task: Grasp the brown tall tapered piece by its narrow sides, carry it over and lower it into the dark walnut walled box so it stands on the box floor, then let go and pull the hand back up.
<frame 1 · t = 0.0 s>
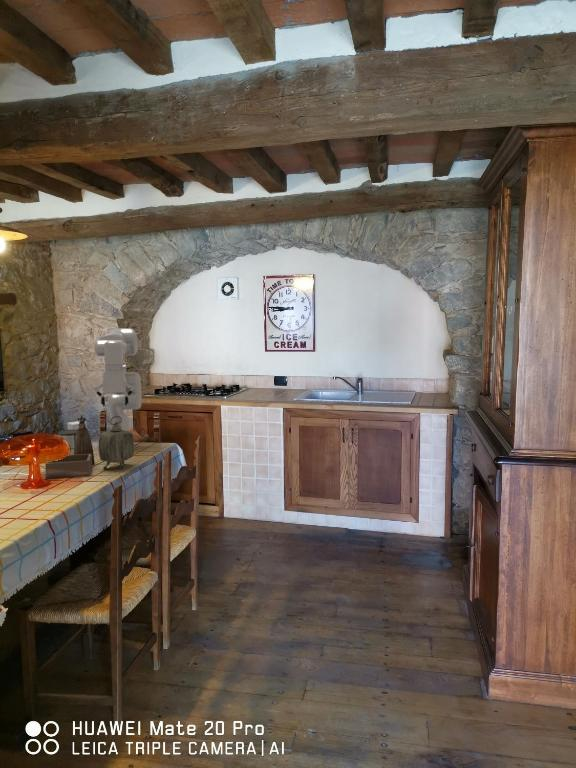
hand: (115, 405, 238), 31 cm above the table, tool pointing down, fingers open, 9 cm apart
skincare box: (78, 450, 284), on the table
tabletop clock: (118, 468, 249), on the table
walled box: (69, 473, 239), on the table
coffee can: (70, 458, 266), on the table
brown tall tapered piece: (84, 465, 253), on the table
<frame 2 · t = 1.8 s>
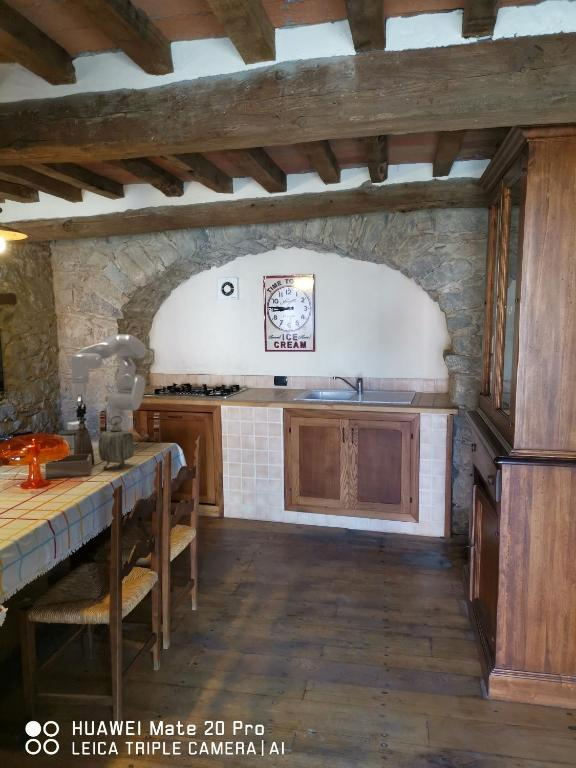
hand: (81, 415, 250), 24 cm above the table, tool pointing down, fingers open, 9 cm apart
nothing on the table moved.
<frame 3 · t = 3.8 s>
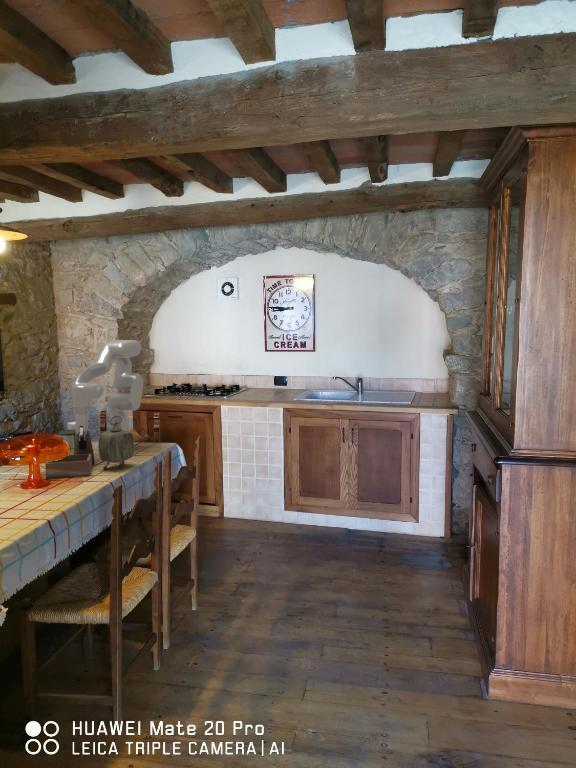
hand: (83, 447, 252), 9 cm above the table, tool pointing down, fingers closed on brown tall tapered piece, 5 cm apart
brown tall tapered piece: (84, 465, 253), on the table, touching gripper
everything else where it was.
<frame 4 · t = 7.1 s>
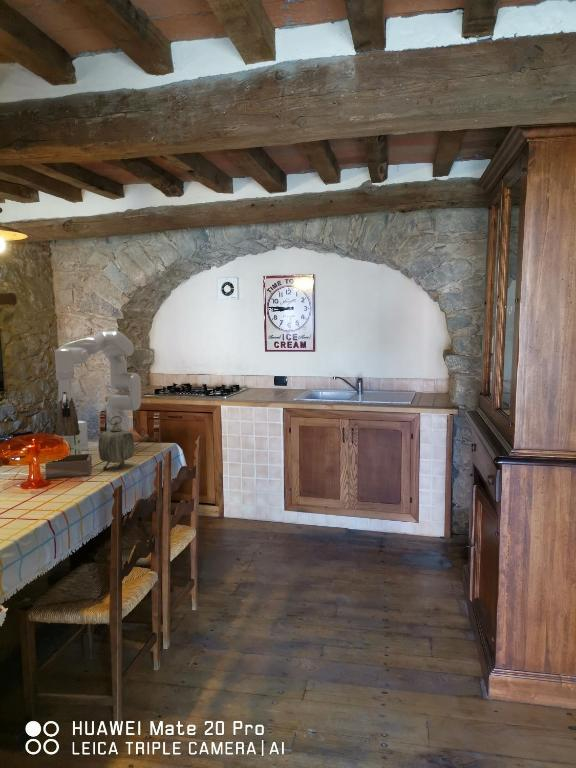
hand: (67, 415, 237), 27 cm above the table, tool pointing down, fingers closed on brown tall tapered piece, 5 cm apart
brown tall tapered piece: (68, 435, 238), point 18 cm above the table, touching gripper
everything else where it was.
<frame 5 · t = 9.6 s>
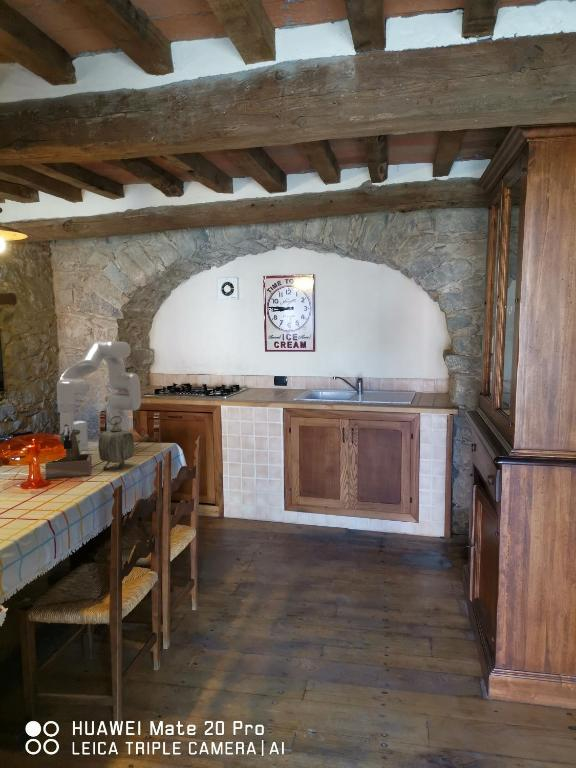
hand: (68, 446, 238), 12 cm above the table, tool pointing down, fingers closed on brown tall tapered piece, 5 cm apart
brown tall tapered piece: (69, 466, 239), point 3 cm above the table, touching gripper
everything else where it was.
when the fingers open (12 cm above the table, at t = 10.6 s): brown tall tapered piece drops 2 cm, resting on walled box.
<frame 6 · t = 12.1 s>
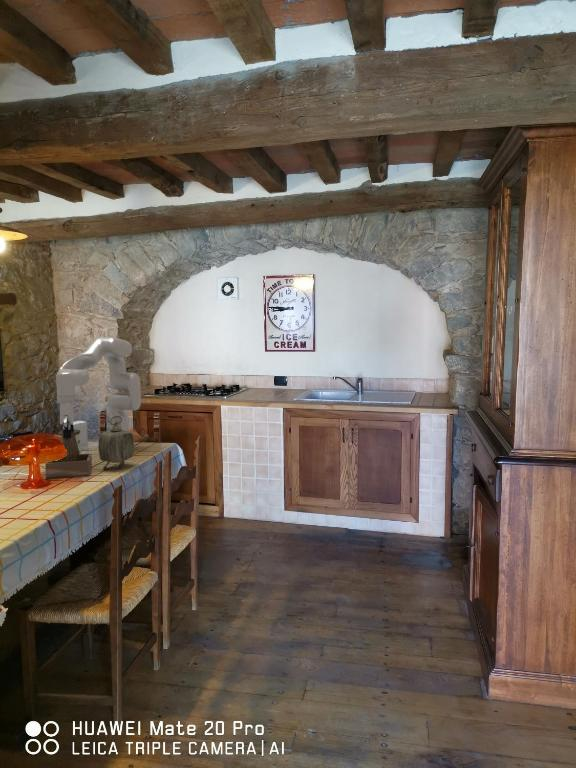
hand: (68, 435, 238), 17 cm above the table, tool pointing down, fingers open, 9 cm apart
brown tall tapered piece: (70, 471, 240), point 1 cm above the table, touching walled box
everything else where it was.
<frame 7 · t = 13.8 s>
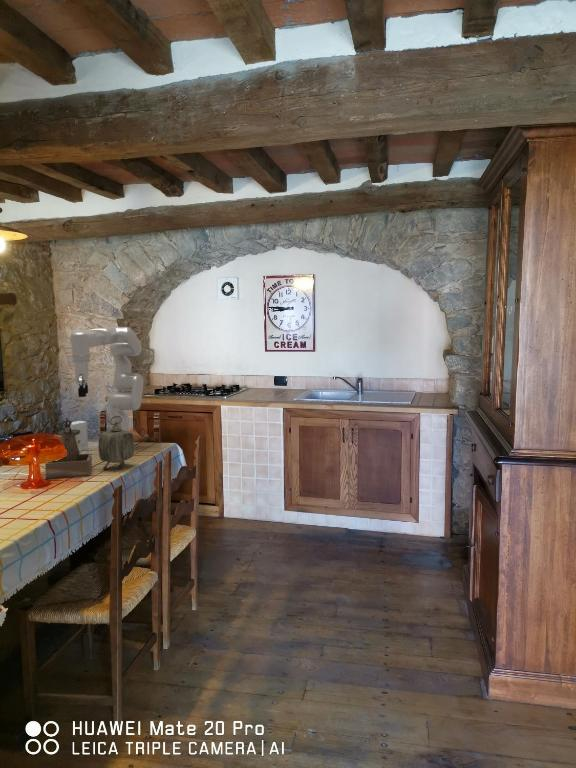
hand: (83, 395, 246), 35 cm above the table, tool pointing down, fingers open, 9 cm apart
nothing on the table moved.
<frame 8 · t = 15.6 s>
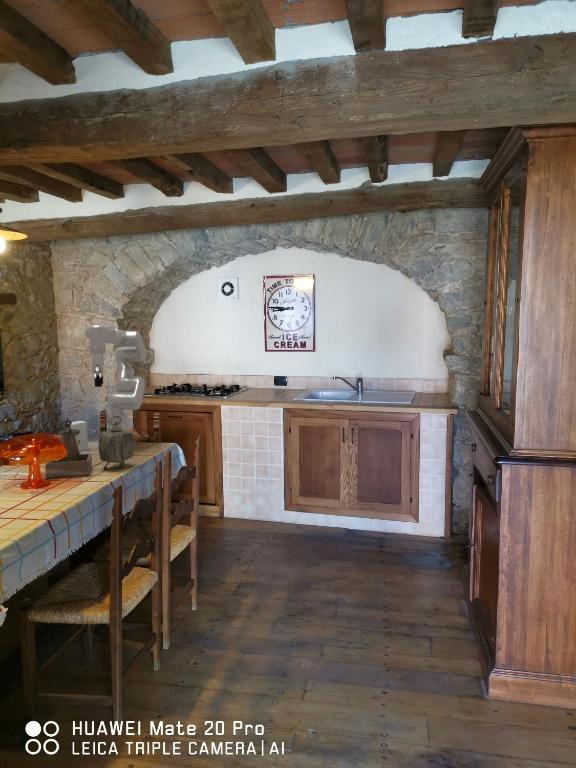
hand: (99, 385, 255), 38 cm above the table, tool pointing down, fingers open, 9 cm apart
nothing on the table moved.
at the end: brown tall tapered piece inside the target area on the walled box (0.4 cm from its centre), point 0.8 cm above the walled box's base; brown tall tapered piece tilted 0°; the gripper is holding nothing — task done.
